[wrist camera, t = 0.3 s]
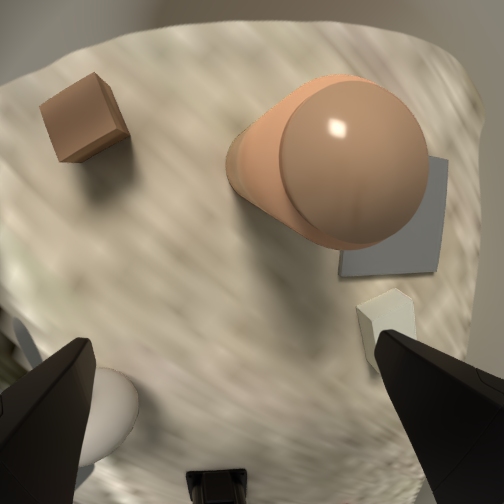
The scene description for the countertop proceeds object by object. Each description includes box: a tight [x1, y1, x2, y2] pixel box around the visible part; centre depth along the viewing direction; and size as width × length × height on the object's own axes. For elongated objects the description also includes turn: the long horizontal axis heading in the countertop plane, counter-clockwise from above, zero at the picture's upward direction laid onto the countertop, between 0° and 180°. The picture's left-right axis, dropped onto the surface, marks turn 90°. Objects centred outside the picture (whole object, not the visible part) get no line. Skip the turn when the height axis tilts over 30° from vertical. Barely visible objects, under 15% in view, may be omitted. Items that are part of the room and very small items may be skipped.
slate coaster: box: [338, 156, 448, 277], centre depth 24 cm, size 10×10×1 cm
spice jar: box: [226, 75, 429, 251], centre depth 15 cm, size 6×6×14 cm
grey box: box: [356, 288, 416, 375], centre depth 26 cm, size 6×4×3 cm, turn 20°
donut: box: [78, 367, 139, 467], centre depth 19 cm, size 10×4×10 cm, turn 109°
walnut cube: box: [39, 72, 130, 163], centre depth 17 cm, size 4×4×4 cm
